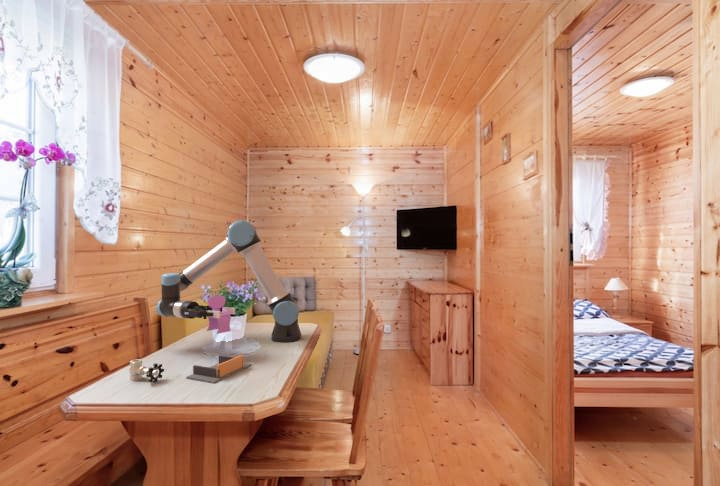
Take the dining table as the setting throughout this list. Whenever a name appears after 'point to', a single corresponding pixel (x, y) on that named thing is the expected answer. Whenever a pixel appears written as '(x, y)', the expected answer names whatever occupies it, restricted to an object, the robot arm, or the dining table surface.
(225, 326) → the toy chair
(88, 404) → the dining table surface
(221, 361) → the grey and orange tray
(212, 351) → the dining table surface
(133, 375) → the valve
